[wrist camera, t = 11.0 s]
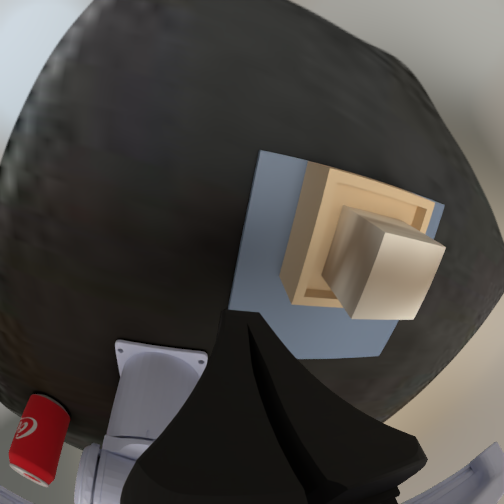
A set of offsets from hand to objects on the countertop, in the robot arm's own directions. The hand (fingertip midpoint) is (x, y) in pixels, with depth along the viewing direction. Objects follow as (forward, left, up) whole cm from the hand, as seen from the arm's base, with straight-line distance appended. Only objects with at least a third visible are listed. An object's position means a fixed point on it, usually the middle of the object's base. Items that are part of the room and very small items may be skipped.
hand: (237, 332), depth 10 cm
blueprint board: (-2, -9, -9) cm, 13 cm away
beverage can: (-26, +20, -10) cm, 34 cm away
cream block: (+2, -8, -6) cm, 10 cm away
